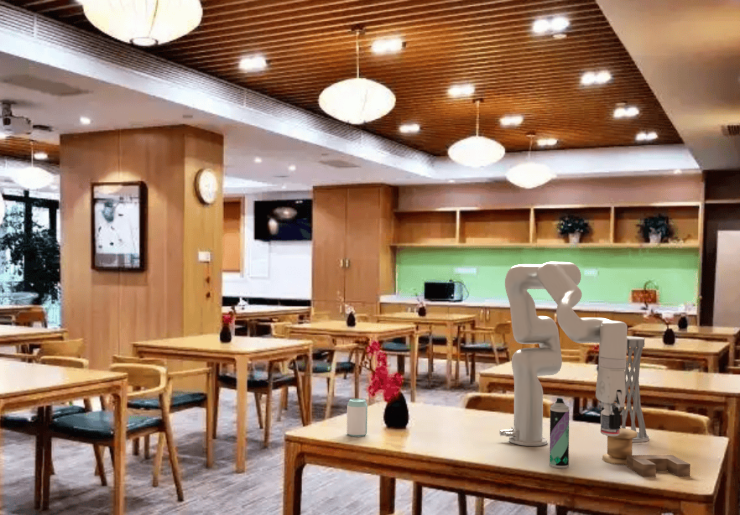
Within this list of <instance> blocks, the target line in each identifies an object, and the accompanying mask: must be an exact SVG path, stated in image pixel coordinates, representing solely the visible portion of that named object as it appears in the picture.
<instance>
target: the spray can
mask: <svg viewBox="0 0 740 515" xmlns="http://www.w3.org/2000/svg"><path fill="white" fill-rule="evenodd" d="M549 410H550V411H549V412H550V413H549V466H550V467H551V468H555V469H567V468H569V465H570V462H569V460H570V453H569V452H570V451H569V450H570V445H569V444H570V407H569V406H568V405H567V404H566V403H565V402H564V399H563V397H557V398H556V401H555V402H554V403H553V404H552V405H550V409H549Z"/></svg>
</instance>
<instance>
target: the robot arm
mask: <svg viewBox="0 0 740 515" xmlns="http://www.w3.org/2000/svg"><path fill="white" fill-rule="evenodd" d="M581 280H582V274H581V270H580V269H579V267H578V265H577V264H575V263H573V262H568V261H548V262H544V263H541V264H540V263H538V264H536V263H535V264H534V263H533V264H532V263H522V264H520V263H519V264H516V265H513V266H511V267H510V268H509V269H508V270H507V273H506V275H505V278H504V286H505V287H504V289H505V292H506V296H507V300H508V303H509V309H510V317H511V329H512V334H513V338H514V341H516V343H517V344H522V345H536V344H537V345H538V346H539V347H523V348H520V349H517V350H516V351H515V352H514V353H513V355H512V357H511V368H512V374H513V385H514V386H513V388H514V389H513V391H514V392H513V426H510V427H511V428H509V429H499V436H500V437H503V436H504V437H508V441H509V442H510V443H512V444H514V445H519V446H527V447H540V446H541V447H542V446H545V445H547V444H548V439H547V438H546V437H544V436H543V430H544V429H543V428H544V426H543V423H544V422H543V421H544V420H543V419H544V418H543V417H544V416H543V414H544V406H543V405H544V390H543V389H544V388H543V386H542V384H541V382H540V379H539V378H538V377H543V376H554V375H557V374H558V373H559V372H560V371H561V369H562V366H563V365H562V363H563V360H562V358H563V357H562V348H561V342H560V333H559V332H560V331H559V329H558V325H559V327H560V328H561V330H562V331H563V332H564V333H565V335H566V336H567V337H568V338H569V339H570V340H571V341H572V342H575V343H577V344H598V343H599V345H598V369H597V377H596V385H595V398H596V399H597V400H598V401H599V404H600V405H599V408H600V412H599V413H600V414H599V417H600V418H599V423H600V424H601V411H602V410H604V407H603V405H604V403H606V404H608V405H610V410H611V414H609V428H610V429H620V428H621V427H622V410H623V408H626V406H625V401H626V397H625V372H624V371H625V370H626V360H627V336H628V325H627V323H626V322H624V321H620V320H611V319H608V318H605V317H592V316H591V317H580V316H579V315H578V314H577V312H575V311H574V309H573V308H574V307H575V306H577V304H579V302H580V301H581V300H582V297H583V293H582V290H581V288H580V287H579V286H578V285H579V283H580V282H581ZM528 290H545V291H546V292H547V293H548V294H549V296H550V297H551V299H553V301H554V302H555V303H556V310H555V311H556V312H555V313H556V321H557V323H558V324H557V323H556V322H555V320H554V319H553V318H551V317H550V316H546V315H537V309H536V303H535V299H533V296H532V295H531V294H530V292H528ZM613 403H618V404H613ZM614 406H617V407H615V409H614Z"/></svg>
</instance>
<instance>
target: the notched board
mask: <svg viewBox="0 0 740 515" xmlns="http://www.w3.org/2000/svg"><path fill="white" fill-rule="evenodd" d="M626 468H628V469H630V470H631V471H632V472H634V473H636V474H637V475H639V476H640V477H643V478H651V477H652V478H653V477H654V478H656V475H657V473H656V472H659V471H660V472H661V471H664V472H665V471H667V472H668V473H670V474H672V475H673V476H676V477H684V478H685V477H691V463H689V462H687V461H685V460H683V459H681V458H679V457H677V456H674V455H673V454H638V455H637V454H632V455H627V465H626Z"/></svg>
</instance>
